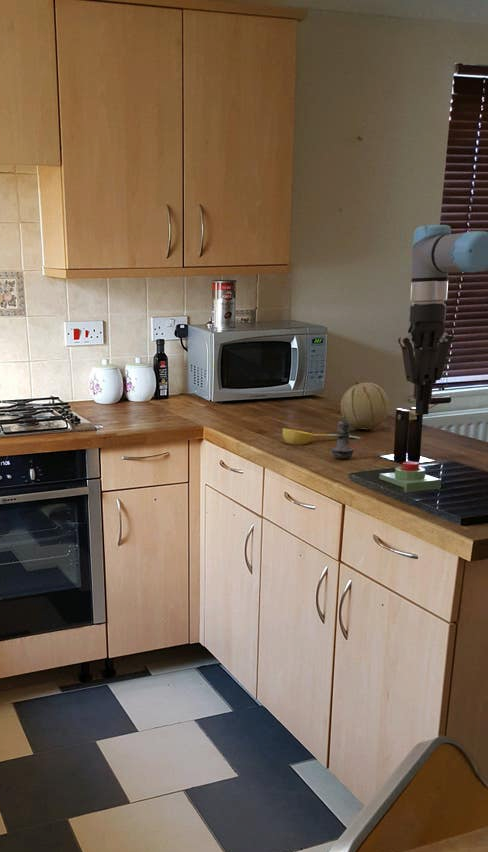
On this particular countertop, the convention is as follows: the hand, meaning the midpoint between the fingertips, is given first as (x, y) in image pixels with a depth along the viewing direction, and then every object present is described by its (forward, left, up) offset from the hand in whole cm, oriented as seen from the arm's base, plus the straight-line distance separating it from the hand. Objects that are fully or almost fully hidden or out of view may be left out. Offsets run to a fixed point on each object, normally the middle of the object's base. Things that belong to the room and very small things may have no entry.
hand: (421, 413), depth 195 cm
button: (+1, +2, -13) cm, 13 cm away
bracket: (+23, -12, -16) cm, 31 cm away
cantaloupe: (+73, -30, -17) cm, 80 cm away
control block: (+1, +2, -16) cm, 17 cm away
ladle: (+56, -7, -17) cm, 58 cm away
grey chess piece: (+31, +2, -17) cm, 35 cm away
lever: (+16, -12, -3) cm, 21 cm away
